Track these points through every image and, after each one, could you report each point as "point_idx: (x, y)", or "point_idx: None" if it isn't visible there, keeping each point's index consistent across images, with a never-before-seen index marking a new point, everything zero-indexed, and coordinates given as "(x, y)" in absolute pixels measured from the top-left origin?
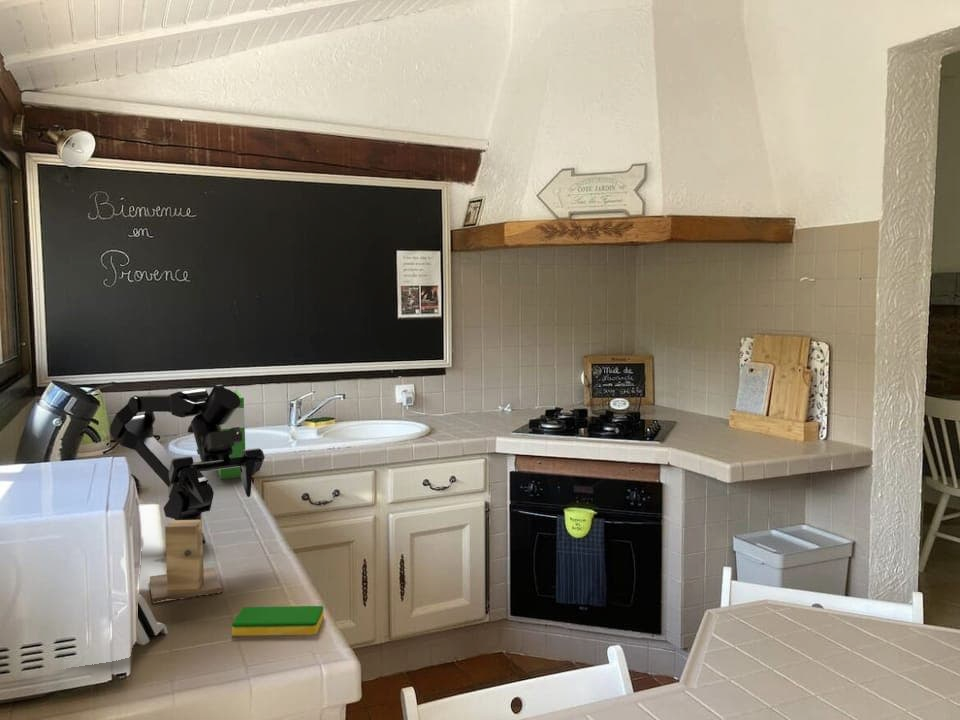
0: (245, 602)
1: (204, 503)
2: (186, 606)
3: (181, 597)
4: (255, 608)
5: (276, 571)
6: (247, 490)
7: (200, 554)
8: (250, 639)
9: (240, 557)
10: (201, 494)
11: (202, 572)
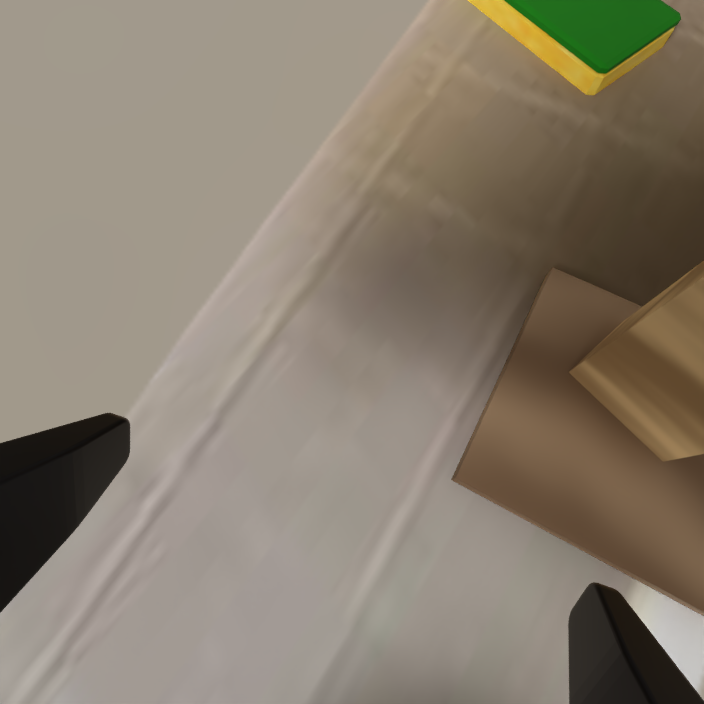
0: (531, 167)
1: (579, 605)
2: (686, 273)
3: None
4: (587, 38)
5: (296, 292)
6: (90, 451)
7: (661, 300)
8: None
9: (266, 551)
10: (663, 667)
11: (597, 349)
